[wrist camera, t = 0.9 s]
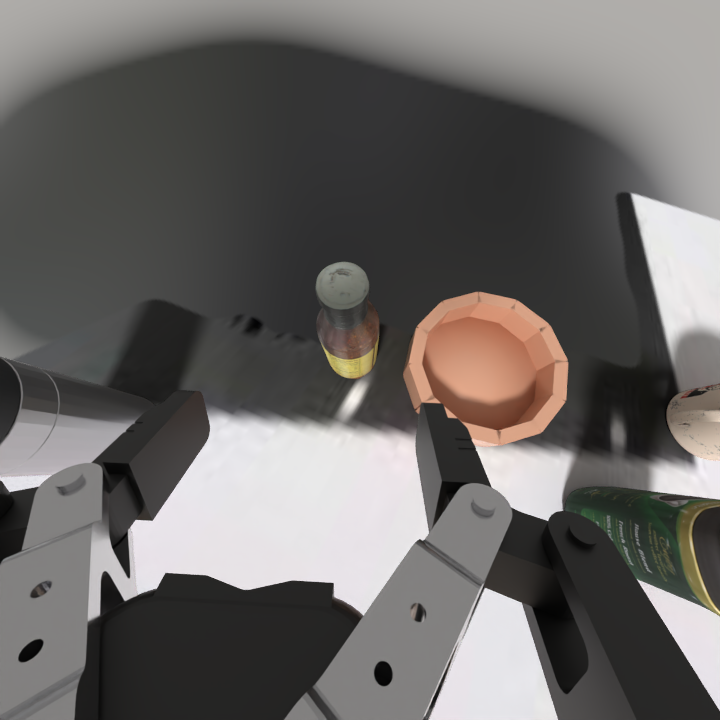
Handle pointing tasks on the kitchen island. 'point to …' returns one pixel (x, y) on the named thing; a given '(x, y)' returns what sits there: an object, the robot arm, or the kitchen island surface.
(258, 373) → the kitchen island surface
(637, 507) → the coffee jar
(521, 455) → the kitchen island surface
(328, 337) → the sauce bottle
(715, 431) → the teacup with lid
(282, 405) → the kitchen island surface
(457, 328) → the terracotta bowl
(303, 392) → the kitchen island surface
